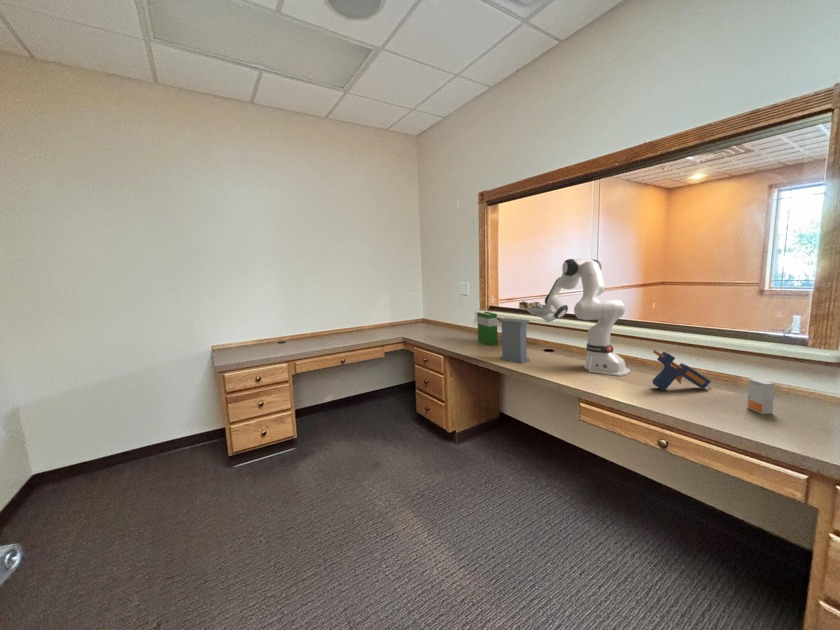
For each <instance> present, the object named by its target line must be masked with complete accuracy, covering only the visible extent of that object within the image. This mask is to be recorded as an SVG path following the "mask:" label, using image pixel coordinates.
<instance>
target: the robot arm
mask: <svg viewBox="0 0 840 630" xmlns="http://www.w3.org/2000/svg"><path fill="white" fill-rule="evenodd" d="M561 270H562V273H561V276H560V277H558V278H557V279H556V280H555V281H554V283H553V285H552V287H551V288H550V291H549V292H548V294H547V295H546V297H545V298H544V304H541V303H540V304H539V303H536V306H535V307H531V308H528V309H525V310H526V311H527V312H528V313H530V314H531V316H534V317H538V318H541V319H542V320H543V321H545V322H546V323H548V322H551V321H553V320H555V319H559V318H560V319H561V318H564V316H565V315H566V314H567V312H568V311H569V307H568V305H567V304H566V303H565V302H564V300H562V299H561V298H560V295H559V293H560V292H561V290H562V289H563V290H572V289H574V288H576V287H577V286H578V284H579V281H580V279H581V284H582V285H581V286H582V291H583V292H582V297H581V298H580V300H579V301H578V302H576V303H575V304H574V309H573V312H574V315H575V317H576V318H577V319H579V320H583V321H584V320H585V321H594V320H595V321H596V320H597V322H596V324H594V325H593V326H591V327H589V329H587V343H586V359H585V362H584V363H585V364H584V366H583V368H584V369H585V370H587V371H588V372H589V373H595V374H602V375H610V376H616V377H617V376H618V377H620V376H621V377H623V376H626V375H629V374H630V372H631V370H630V368H628V367H626V362H625V359H624V358H623V357H621V356H620V355H619V354H617V353H616V352H615V351H614V349H615V345H613V346H612V344H611V331H612V330H613V326H614V324H616V322H617V321H618V320H619V319H621V318H622V317H623V316H624V314H625V312H626V307H625V304H624V303H623V302H622V300H619V299H613V298H607V299H598V296H600V295H602V294H603V293H604V292H605V290H606V285H605V281H604V280H605V279H604V277H603V272H602V264H601V261H599V260H598V259H594V258H593V259H591V258H589V259H588V258H568V259H566V260H564V262H563V263H562V269H561Z"/></svg>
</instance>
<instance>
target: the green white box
mask: <svg viewBox="0 0 840 630" xmlns="http://www.w3.org/2000/svg"><path fill="white" fill-rule="evenodd" d="M476 315H477V317H476V318H477V342H478V343H480V344H482V345H486V346H488V347H490V346H491V347H492V346H498V345H499V344H498V343H499V342H498V313H494V312H489V311H484V312H480V311H479V312H476Z"/></svg>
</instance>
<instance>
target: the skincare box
mask: <svg viewBox="0 0 840 630" xmlns="http://www.w3.org/2000/svg"><path fill="white" fill-rule="evenodd" d="M775 388H776V383H775V382H771V381H769V380H765V379H762V378H759V377H758V378H750V379H749V381H748V390H747V391H748V393H747V403H746V405H747V406H746V408H747V409H748V410H751V411H754V412H756V413H759V414H761V415H768V414H769V415H771V414H773V411H774V400H775V390H776V389H775Z"/></svg>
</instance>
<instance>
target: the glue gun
mask: <svg viewBox="0 0 840 630" xmlns="http://www.w3.org/2000/svg"><path fill="white" fill-rule="evenodd" d="M652 351H653V352H652V353H653V354H655V355H656V356H658V357H657V359H656V360H657V361H658V362H660V363H661V364H662V365H663V366H664V367H663V368H662V370H661V371H660V372H659V373H658V374H657V375H656V376H655V377H654V378H653V379H652V385H654V386H655V387H657V389H658V388H659V389H660V390H662V391H664V392H665V391H666V390H667V389H668V387H670V385H671V384H672V383H673V382H674V381H675V380H676V381H677V383H679V384H682V378H685V379H686V380H688V382H689V383H690V382H691V383H692V384H694V385H695V386H697V387H698V388H701V389H702V390H706V388H708V389H710V390H712V387H711V386H710V383H711V382H712V381H711V380H710V379H709V378H707V377H706V376H704V375H702V374H701V373H699V372H698V371H696V370H695V369H693V368H691V367H690V366H688V364H687V365H686V364H685V363H681V362H680V364H678V363H676V362H674V361H675V359H676V357H675V356H673V355H671V354H670V353H667V352H666V351H663V352H662V353H661V352H659V351H657V350H656V349H655V350H652Z"/></svg>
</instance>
